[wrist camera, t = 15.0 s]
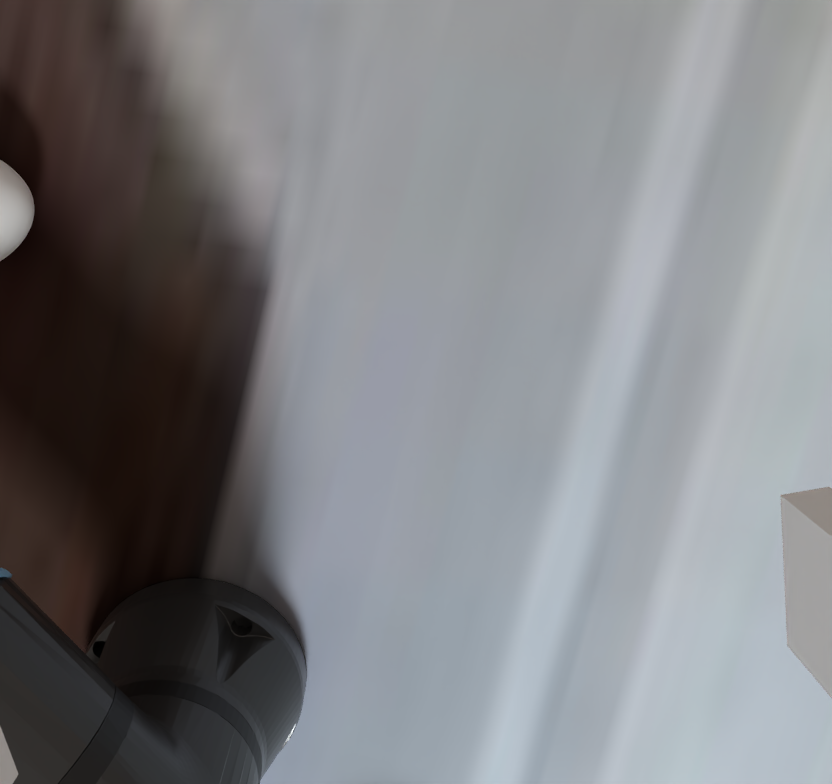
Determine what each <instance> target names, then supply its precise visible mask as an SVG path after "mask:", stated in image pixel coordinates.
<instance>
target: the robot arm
mask: <svg viewBox="0 0 832 784" xmlns="http://www.w3.org/2000/svg"><path fill="white" fill-rule="evenodd" d="M781 514H782V537H783V559H784V582H785V604H786V627H787V646H788V647H789V648H790V649H791V651H792V652H793V653H794V654H795V655H796V657H797V658H798V659H799V660H800V661H801V663H802V664H803V665H804V666H805V667H806V668H807V670H808V671H809V672H810V673H811V674H812V676H813V677H814V678H815V679H816V680H817V681H818V683H819V684H820V685H821V686H822V687H823V689H824V690H825V691H826V692H827V693H828V694H829V696H830V697H831V698H832V489H831V488H830V487H825V488H819V489H814V490H808V491H802V492H796V493H790V494H784V495H781ZM11 577H12V574H11V573H10V572H9V571H8V570H6V569H3V568H0V784H260V780H261V778H262V777H263V775H264V774H265V772H266V771H267V769H268V768H269V767H270V765H271V764H272V762H273V761H274V759H275V757H276V756H277V754H278V753H279V752H280V751H281V750H282V748H283V747H284V746H285V745H286V743H287V742H288V740H289V739H290V737H291V736H292V734H293V732H294V730H295V727H296V725H297V723H298V720H299V717H300V714H301V710H302V705H303V699H304V693H305V687H306V664H305V659H304V655H303V651H302V648H301V646H300V643H299V641H298V639H297V637H296V635H295V633H294V632H293V630H292V629H291V627H290V626H289V624H288V623H287V622H286V620H285V619H284V618H283V617H282V616H281V615H280V614H279V613H278V612H277V611H276V610H275V609H274V608H273V607H272V606H270V605H269V604H268V603H267V602H265V601H264V600H262V599H261V598H259V597H258V596H256V595H254V594H253V593H251V592H248V591H246V590H244V589H242V588H240V587H237V586H234V585H231V584H228V583H224V582H220V581H215V580H209V579H197V578H188V579H176V580H170V581H165V582H161V583H157V584H154V585H151V586H149V587H146V588H144V589H142V590H140V591H138V592H136V593H134V594H133V595H131V596H129V597H128V598H126V599H125V600H124V601H122V602H121V603H120V604H119V605H118V606H117V607H115V609H114V610H113V611H112V612H111V613H110V614H109V615H108V616H107V618H106V619H105V620H104V622H103V623H102V625H101V626H100V628H99V630H98V631H97V633H96V634H95V636H94V637H93V639H92V641H91V642H90V644H89V646H88V648H87V651H86V653H84V652H83V651H82V650H81V649H80V648H79V647H78V646H77V645H76V644H75V643H74V642H73V641H72V640H71V639H70V638H69V637H68V636H67V635H66V634H65V633H64V632H63V631H62V630H61V629H60V628H59V627H58V626H57V625H56V624H55V623H54V622H53V621H52V620H51V619H50V618H49V617H48V616H47V615H46V614H45V613H44V612H43V611H42V610H41V609H40V608H39V607H38V606H37V605H36V604H35V603H34V602H33V601H32V600H31V599H30V598H29V597H28V596H27V595H26V593H25V592H24V591H23V590H22V589H21V588H20V587H19V586H18V585H17V584H16V583H15V582H14V581H13V580H12V579H11Z"/></svg>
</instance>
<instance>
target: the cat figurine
mask: <svg viewBox="0 0 832 784" xmlns="http://www.w3.org/2000/svg"><path fill="white" fill-rule="evenodd" d="M33 218H34V201H33V197H32V194H31V191H30V189H29V187H28V186H27V184H26V183H25V181H24V180H23V179H22V178H21V176H20V175H19V174H18V173H17V172H16V171H15V170H13V169H12V168H11V167H10V166H8V165H7V164H6V163H4V162H3V161H1V160H0V261H1V260H3V259H4V258H6V257H7V256H8V255H10V254H11V253H12V252H13V251H14V250H15V249H16V248H17V247H18V246H19V245H20V244H21V243H22V241H23V240H24V239H25V237H26V236H27V234H28V232H29V230H30V228H31V225H32V222H33Z"/></svg>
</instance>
